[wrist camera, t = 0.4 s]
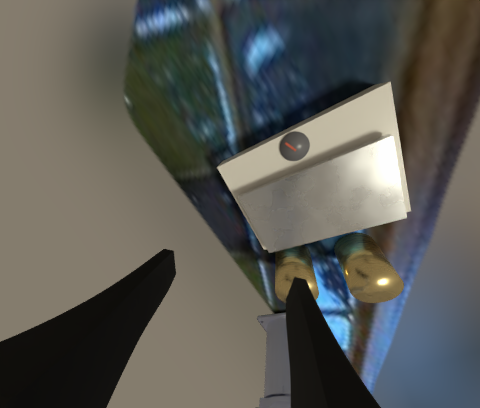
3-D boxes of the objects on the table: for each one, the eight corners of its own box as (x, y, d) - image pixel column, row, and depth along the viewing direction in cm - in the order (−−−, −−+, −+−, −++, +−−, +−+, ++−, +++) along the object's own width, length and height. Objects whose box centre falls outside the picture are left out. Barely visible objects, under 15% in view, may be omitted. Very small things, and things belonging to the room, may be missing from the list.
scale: (397, 199, 17) (412, 211, 15) (265, 238, 21) (264, 251, 19) (375, 84, 13) (391, 81, 11) (222, 161, 18) (216, 167, 16)
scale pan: (402, 213, 15) (407, 217, 14) (269, 249, 19) (269, 253, 18) (388, 134, 12) (393, 135, 12) (239, 194, 17) (237, 197, 16)
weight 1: (314, 263, 22) (324, 302, 18) (282, 270, 23) (284, 307, 19) (303, 238, 20) (310, 274, 16) (270, 247, 22) (268, 282, 18)
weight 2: (378, 256, 20) (406, 299, 16) (339, 264, 21) (355, 305, 17) (371, 228, 18) (400, 266, 14) (329, 238, 20) (344, 276, 16)
